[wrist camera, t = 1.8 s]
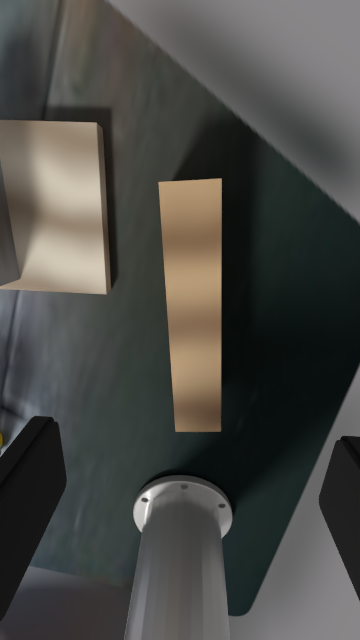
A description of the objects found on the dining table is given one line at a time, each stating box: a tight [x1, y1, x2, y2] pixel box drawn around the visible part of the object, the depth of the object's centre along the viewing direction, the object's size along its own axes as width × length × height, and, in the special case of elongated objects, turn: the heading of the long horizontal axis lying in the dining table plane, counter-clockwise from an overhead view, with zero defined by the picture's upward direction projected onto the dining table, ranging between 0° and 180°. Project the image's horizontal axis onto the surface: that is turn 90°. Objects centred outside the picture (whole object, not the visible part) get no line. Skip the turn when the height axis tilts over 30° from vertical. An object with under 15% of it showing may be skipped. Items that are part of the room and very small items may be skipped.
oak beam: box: [159, 178, 222, 432], centre depth 24 cm, size 20×4×6 cm, turn 3°
